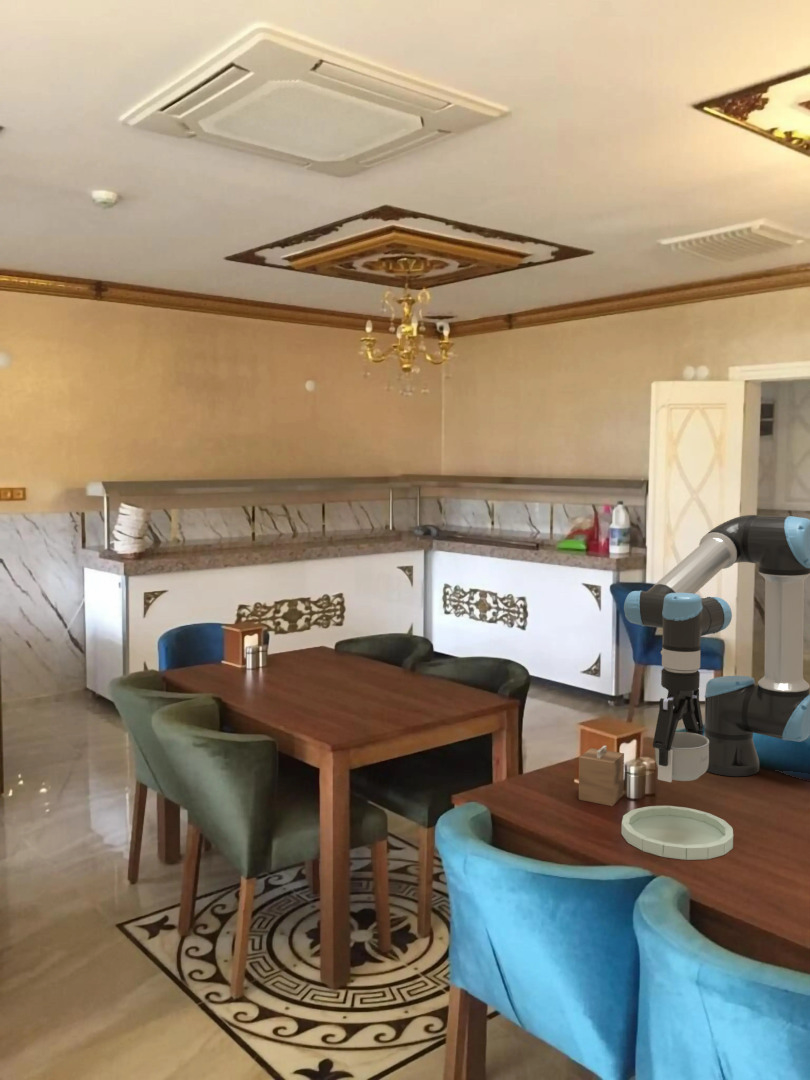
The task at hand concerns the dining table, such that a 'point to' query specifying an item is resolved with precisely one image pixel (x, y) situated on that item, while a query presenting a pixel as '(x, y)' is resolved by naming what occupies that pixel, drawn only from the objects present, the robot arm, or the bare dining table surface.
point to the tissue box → (601, 776)
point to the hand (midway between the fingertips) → (677, 772)
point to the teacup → (688, 756)
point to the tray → (677, 832)
